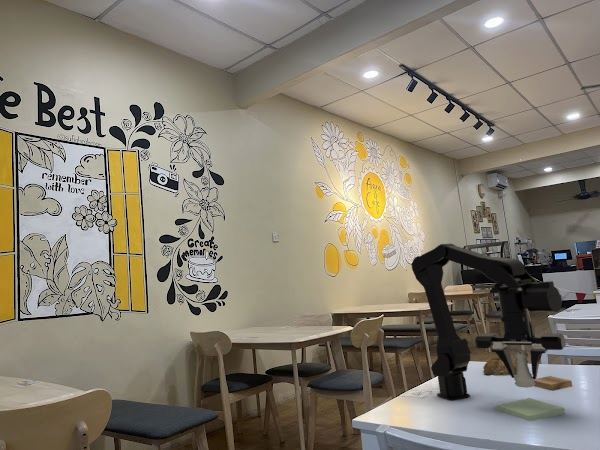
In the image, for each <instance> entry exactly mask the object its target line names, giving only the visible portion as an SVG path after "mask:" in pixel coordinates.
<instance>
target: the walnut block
mask: <svg viewBox="0 0 600 450" xmlns="http://www.w3.org/2000/svg"><path fill="white" fill-rule="evenodd" d="M533 382H535V385H534V386H533V387H536V388H540V389H544V390H548V391H556V390H557V391H558V390H562V389H566V388H570V387H573V382H572V380H571V379H567V378H563V377H556V376H552V375H548V376H543V377H539V378H536V379H534V381H533Z"/></svg>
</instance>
